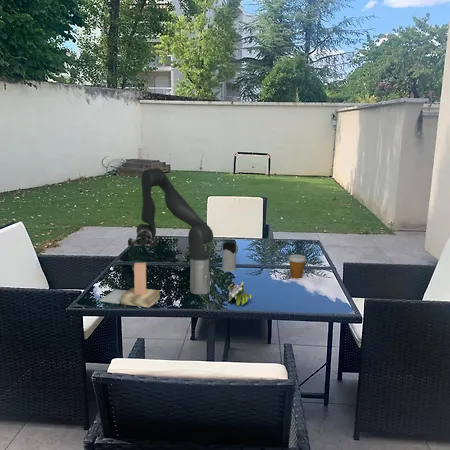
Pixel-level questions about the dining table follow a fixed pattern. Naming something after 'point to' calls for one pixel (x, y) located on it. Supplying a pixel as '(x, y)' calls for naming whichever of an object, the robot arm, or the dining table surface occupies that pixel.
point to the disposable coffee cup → (296, 265)
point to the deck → (140, 298)
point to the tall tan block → (140, 278)
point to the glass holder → (229, 257)
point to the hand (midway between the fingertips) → (141, 245)
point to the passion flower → (237, 290)
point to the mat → (113, 296)
